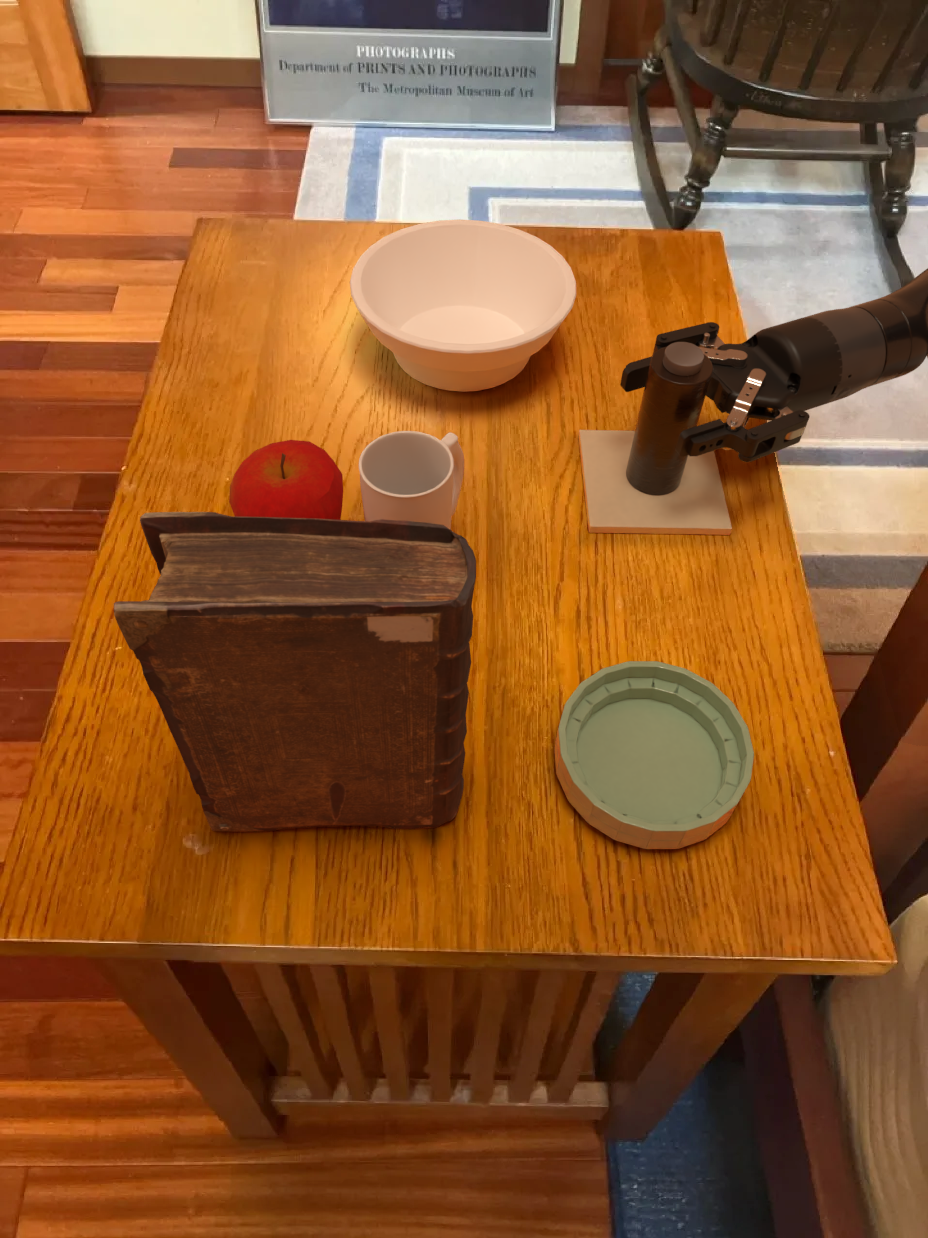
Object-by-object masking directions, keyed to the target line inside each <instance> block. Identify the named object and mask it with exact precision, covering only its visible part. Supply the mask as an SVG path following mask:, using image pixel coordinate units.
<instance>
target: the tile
mask: <svg viewBox="0 0 928 1238" xmlns="http://www.w3.org/2000/svg"><path fill="white" fill-rule="evenodd" d="M634 433H635V430H622V429H621V430H619V429H618V430H615V429H613V430H611V429H607V430H606V429H579V431H578V437H577V438H578V444H579V455H580V465H581V472H582V473H581V474H582V482H583V483H582V484H583V491H584V502H585V511H586V519H587V529H588V533H591V534H594V533H595V534H643V535H644V534H645V535H646V534H648V535H649V534H651V535H654V534H655V535H709V536H710V535H711V536H713V535H715V536H716V535H717V536H730V535H731V534H732V530H733V526H732V522H731V517H730V513H729V509H728V504H727V501H726V497H725V496H726V495H725V493H724V488H723V483H722V479H721V476H720V471H719V466H718V462H717V458H716V453H715V450H714V451H711V452H707V453H705V454H702V455H699V456H689V455H688V458H687V461H686V465H685V468H684V471H683V475H682V478H681V482H680V484H679V486H678V487H677V488H676V489H675V490H674V491H673V492H671V493H669V494H665V495H649V494H645V493H642V492H640V491H638V490H637V489H635V488H634V487H633V486H632V485H631V484H630V483H629V481H628V479H627V477H626V469H627V465H628V460H629V456H630V451H631V447H632V442H633V438H634Z"/></svg>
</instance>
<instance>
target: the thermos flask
mask: <svg viewBox="0 0 928 1238" xmlns="http://www.w3.org/2000/svg"><path fill="white" fill-rule="evenodd" d="M712 371H713V366H712V363H711V361H710V359H709V358H708V357H707V356H706V355H705V354H704V353H703V351H702V350H701V349H700V348H699V347H698V346H696V345H694V344H691V343H688V342H675V343H672V344H670V345H669V346H667V347H664V348H661V349H659V350H658V351H656V352H655V353H654V354H653V353H652V358H651V362H650V366H649V371H648V375H647V380H646V384H645V387H643V394H642V397H641V402H640V407H639V411H638V416H637V421H636V425H635V429H634V431H635V433H634V438H633V442H632V447H631V451H630V456H629V460H628V465H627V469H626V477H627V479H628V481H629V483H630V484H631V485H632V486H633V487H634V488H635V489H637V490H638V491H640V492H642V493H645V494H649V495H665V494H669V493H671V492H673V491H674V490H675V489H676V488H677V487H678V486H679V484H680V482H681V478H682V475H683V471H684V468H685V465H686V461H687V458H688V455H687V456H684V457H681V456H680V455H679V454H678V453H677V451H676V450H675V448H676V444H677V441H678V437H679V435H680V433H681V432H682V431H684V430H686V429H689V428H692V427H696V426H698V422H699V420H700V417H701V412H702V409H703V406H704V402H705V399H706V397H707V396H706V392H707V389H708V385H709V382H710V379H711V375H712Z"/></svg>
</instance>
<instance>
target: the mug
mask: <svg viewBox="0 0 928 1238" xmlns="http://www.w3.org/2000/svg"><path fill="white" fill-rule="evenodd" d="M358 471H359V484H360V492H361V500H362V510H363V517H364V521H374V520H380V519H385V520H395V521H414V522H424V523H433V524H440V525H444V526H446V527H447V528H448V529H450V530H451V531H452V517H453V516H454V515H455V513H456V511H457V507H458V503H459V499H460V495H461V491H462V490H461V489H462V485H463V480H464V474H465V455H464V451H463V449H462V446H461V445H460V443H459V436H458V435H457V434H456V433H453V432H447V433H446V434H445V435H444V436H443V437H442V438H441V439H440V438H437V437H436V436H435V435H432V434H429V433H426V432H422V431H416V430H398V431H393V432H388V433H385V434H383V435H381V436H378V437H377V438H375V439H374V440H372V441H371V442H369V443H368V444H367V445H366V446H365V447H364V448H363V450H362V452H361V453H360V456H359V459H358Z"/></svg>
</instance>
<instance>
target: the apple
mask: <svg viewBox="0 0 928 1238" xmlns="http://www.w3.org/2000/svg"><path fill="white" fill-rule="evenodd" d="M343 477H344V476H343V472H342V471H341V470H340V468H339V466H338V465H337V463H336V462H335V461H334V459H333V458H332V457H331V456H330V455H329V453H328V452H327V451H326V450H325V449H323V448H322V447H320V446H318V445H317V444H315V443H313V442H311V441H308V440H295V439H286V440H282V441H277V442H271V443H269V444H267V445H264V446H262V447H260V448H258V449H255V450H254V451H252V452H251V454H249V455H248V456H247V457H246V458H245V459H244V460H243V461H242V462H241V463H240V464H239V466H238V468H237V470H236V471H235V472H234V474H233V477H232V480H231V482H230V484H229V495H228V496H229V498H228V502H229V506H230V508H231V511H232V513H233V516H236V517H283V518H316V519H335V520H342V513H343V512H342V511H343V500H344V499H343V498H344V479H343Z"/></svg>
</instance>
